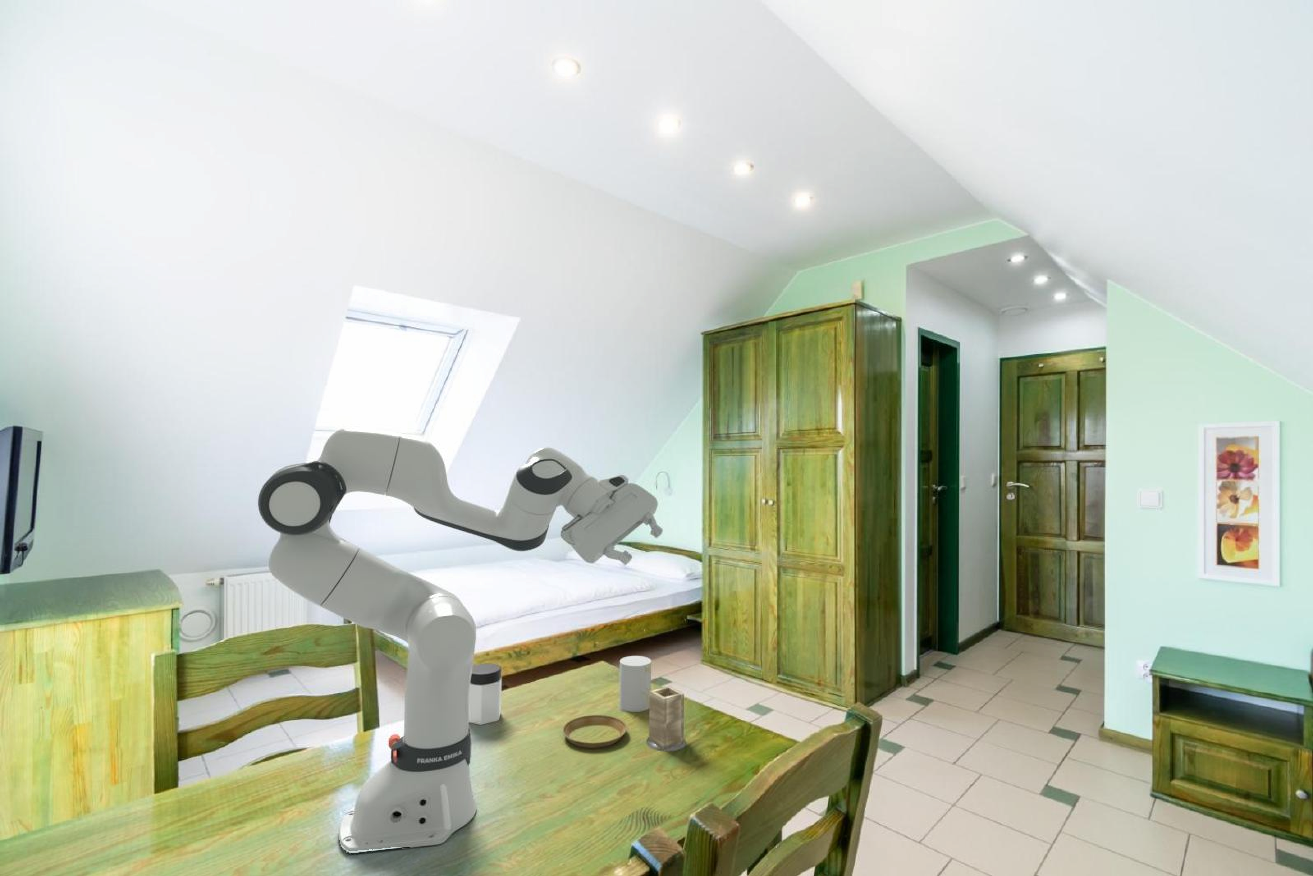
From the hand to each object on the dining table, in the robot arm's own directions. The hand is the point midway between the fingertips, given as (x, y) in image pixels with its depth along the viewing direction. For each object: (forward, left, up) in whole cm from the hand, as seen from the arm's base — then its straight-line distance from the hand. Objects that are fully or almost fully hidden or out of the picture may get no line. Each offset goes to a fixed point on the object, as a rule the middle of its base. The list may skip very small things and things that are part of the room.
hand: (645, 547), depth 120 cm
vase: (+13, +19, -47) cm, 52 cm away
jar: (-23, +49, -48) cm, 72 cm away
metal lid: (+13, +19, -47) cm, 53 cm away
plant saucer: (-1, +28, -48) cm, 55 cm away
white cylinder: (+14, +41, -48) cm, 64 cm away
